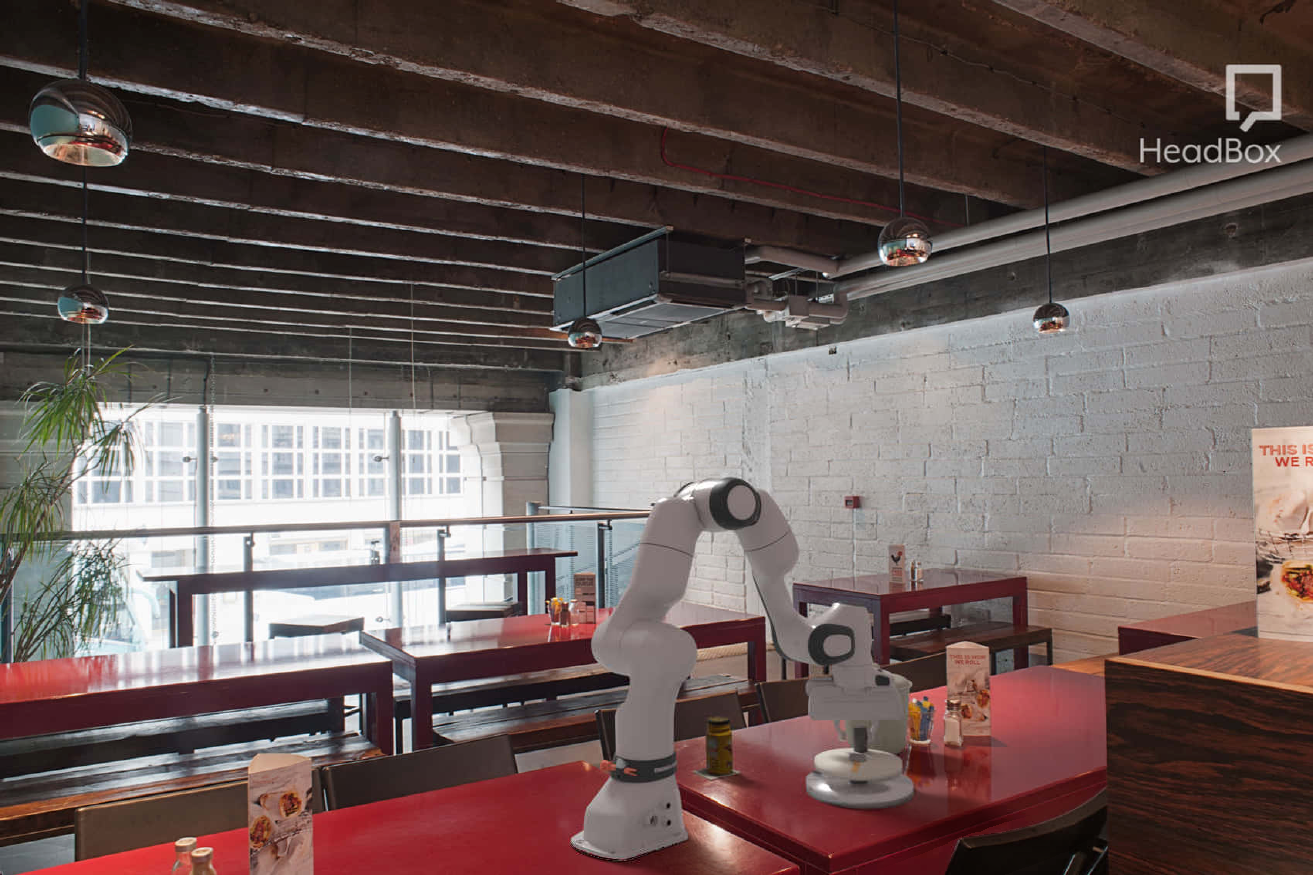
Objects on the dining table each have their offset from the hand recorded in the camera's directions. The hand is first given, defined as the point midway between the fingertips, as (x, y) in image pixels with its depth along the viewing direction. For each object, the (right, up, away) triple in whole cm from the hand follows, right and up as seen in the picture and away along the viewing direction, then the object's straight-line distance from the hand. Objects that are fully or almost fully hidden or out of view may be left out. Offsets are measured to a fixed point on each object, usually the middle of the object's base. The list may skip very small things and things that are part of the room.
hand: (856, 740), depth 191 cm
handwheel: (-1, -3, -7) cm, 8 cm away
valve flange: (-1, -8, -7) cm, 11 cm away
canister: (+10, -10, +21) cm, 26 cm away
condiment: (-30, -10, +8) cm, 33 cm away
